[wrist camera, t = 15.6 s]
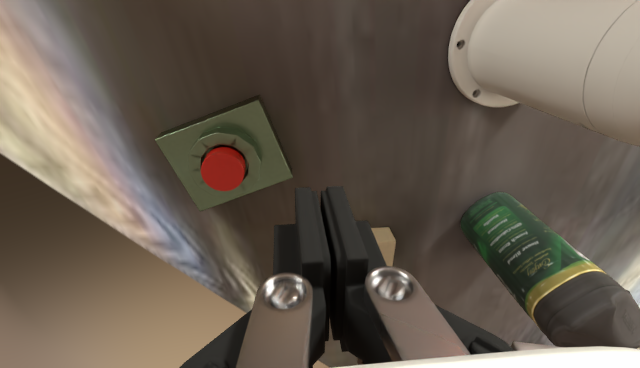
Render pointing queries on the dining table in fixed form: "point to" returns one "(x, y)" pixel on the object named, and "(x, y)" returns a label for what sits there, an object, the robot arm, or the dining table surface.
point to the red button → (223, 169)
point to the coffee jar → (551, 277)
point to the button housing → (234, 132)
